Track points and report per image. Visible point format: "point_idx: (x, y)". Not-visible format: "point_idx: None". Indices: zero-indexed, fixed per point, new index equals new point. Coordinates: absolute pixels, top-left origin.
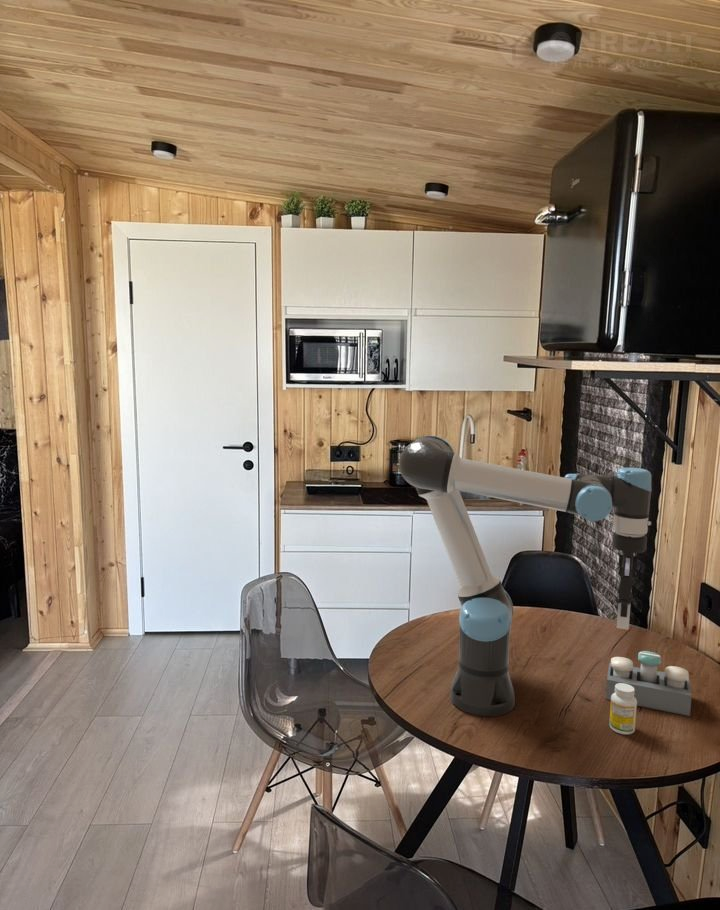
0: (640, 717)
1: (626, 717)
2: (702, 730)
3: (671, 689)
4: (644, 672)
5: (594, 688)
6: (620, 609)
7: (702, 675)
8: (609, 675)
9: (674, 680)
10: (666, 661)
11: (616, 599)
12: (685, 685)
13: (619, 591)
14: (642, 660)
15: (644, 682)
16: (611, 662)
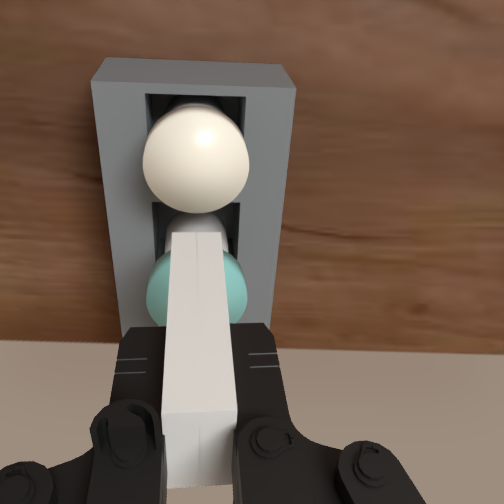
0: (33, 179)
1: None
2: (63, 324)
3: (136, 304)
4: (167, 244)
5: (185, 3)
6: (163, 365)
7: (409, 333)
8: (144, 91)
9: None
10: (495, 255)
11: (141, 430)
12: None
13: (368, 474)
14: (156, 268)
15: (147, 227)
16: (177, 114)
